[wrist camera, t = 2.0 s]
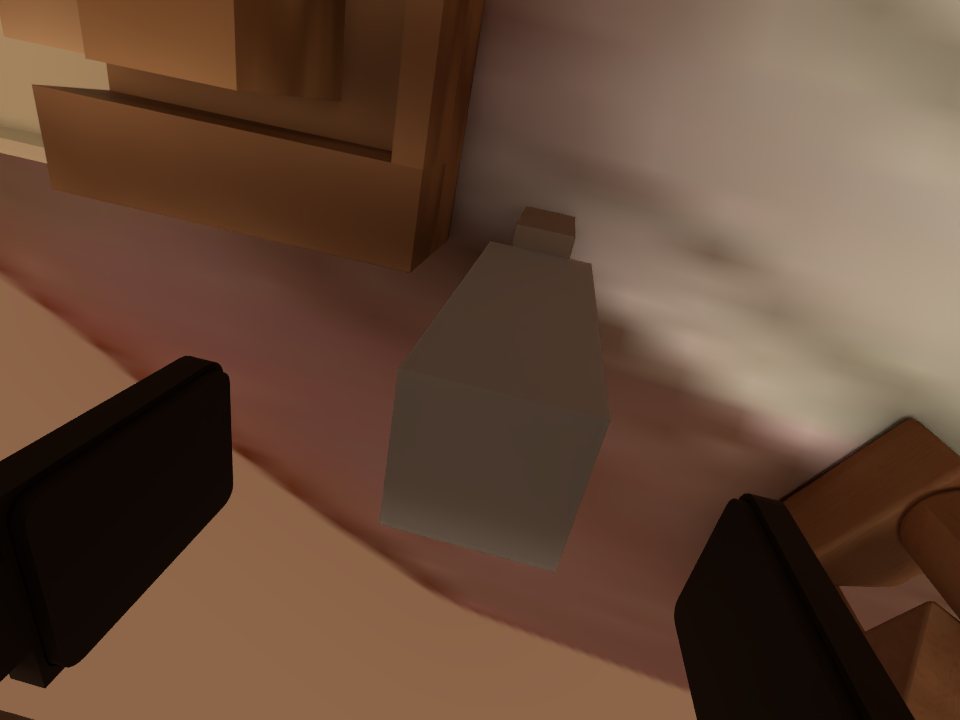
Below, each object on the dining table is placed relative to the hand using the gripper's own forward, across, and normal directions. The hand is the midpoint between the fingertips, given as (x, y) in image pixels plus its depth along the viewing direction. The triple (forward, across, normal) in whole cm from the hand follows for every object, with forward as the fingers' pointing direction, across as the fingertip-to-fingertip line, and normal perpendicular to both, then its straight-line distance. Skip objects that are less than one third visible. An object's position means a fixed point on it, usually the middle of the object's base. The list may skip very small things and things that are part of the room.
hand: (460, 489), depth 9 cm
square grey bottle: (+14, -1, -1) cm, 14 cm away
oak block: (+11, +10, -8) cm, 17 cm away
